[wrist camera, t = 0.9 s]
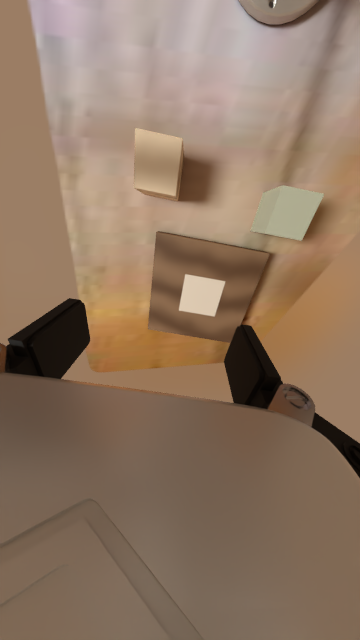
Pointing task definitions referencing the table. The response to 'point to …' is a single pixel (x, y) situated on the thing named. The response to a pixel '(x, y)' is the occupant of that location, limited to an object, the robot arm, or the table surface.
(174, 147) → the maple block
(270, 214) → the sage block
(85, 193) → the table surface
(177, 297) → the walnut board
